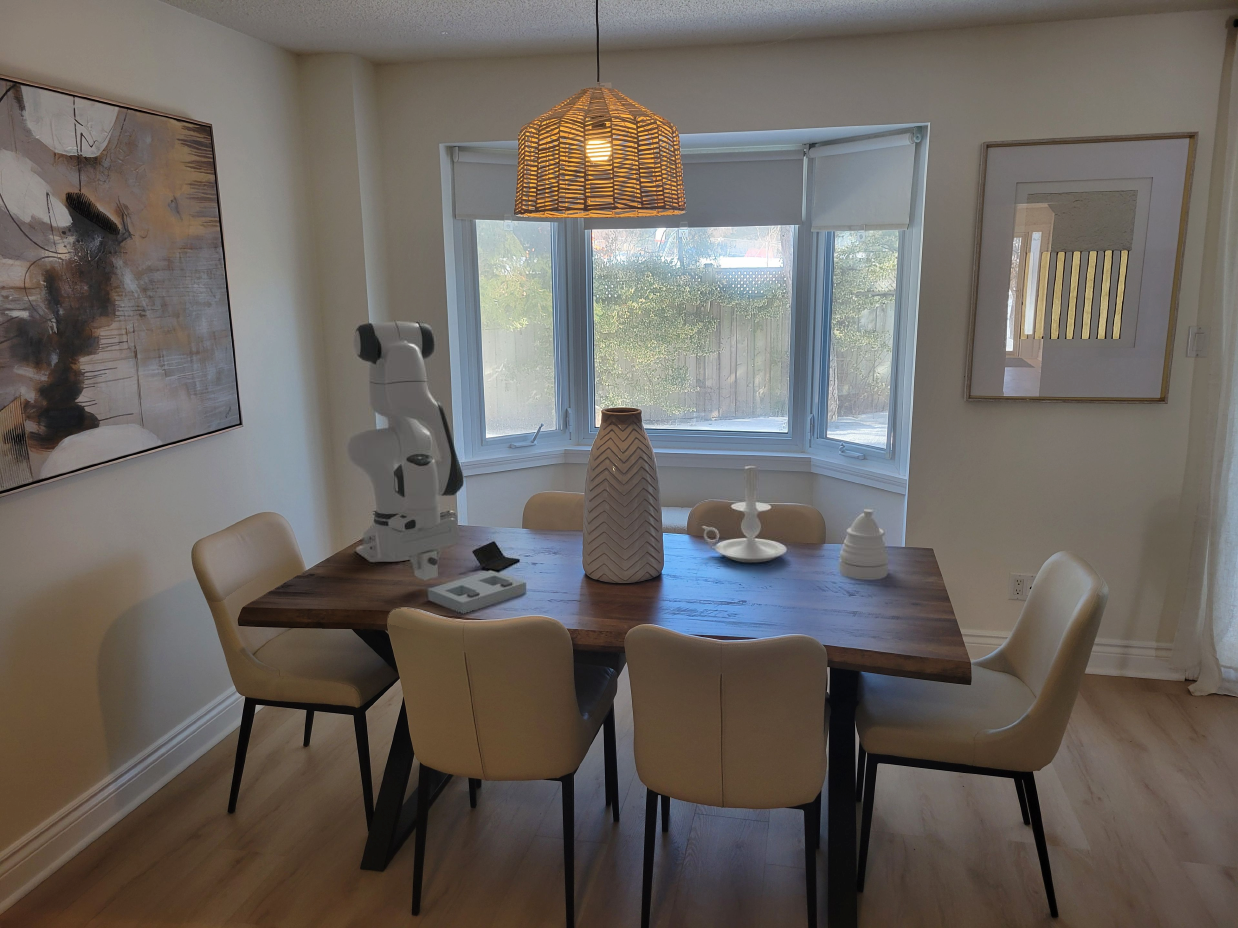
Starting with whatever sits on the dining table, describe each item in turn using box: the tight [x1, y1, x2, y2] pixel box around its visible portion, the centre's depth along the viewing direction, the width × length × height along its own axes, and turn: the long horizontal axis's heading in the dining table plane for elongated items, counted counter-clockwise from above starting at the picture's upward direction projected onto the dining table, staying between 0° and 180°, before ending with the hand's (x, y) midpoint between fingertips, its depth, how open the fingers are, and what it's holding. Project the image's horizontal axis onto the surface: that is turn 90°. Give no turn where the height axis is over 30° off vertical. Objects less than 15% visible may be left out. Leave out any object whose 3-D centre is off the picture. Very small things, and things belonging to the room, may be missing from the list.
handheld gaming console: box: [471, 540, 521, 573], centre depth 248 cm, size 12×7×10 cm
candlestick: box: [701, 463, 787, 564], centre depth 248 cm, size 21×25×28 cm
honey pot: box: [838, 508, 889, 581], centre depth 234 cm, size 13×13×18 cm
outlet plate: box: [427, 570, 527, 615], centre depth 222 cm, size 15×20×4 cm
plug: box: [413, 550, 439, 583], centre depth 227 cm, size 7×4×8 cm, turn 45°
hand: (425, 566), depth 228 cm, fingers closed on plug, 4 cm apart
